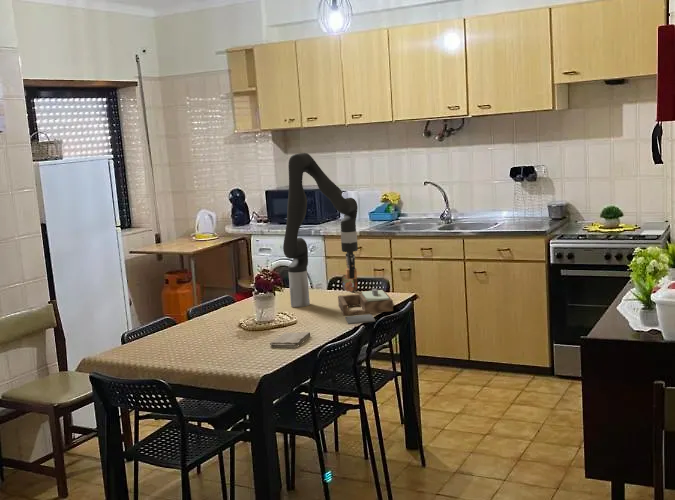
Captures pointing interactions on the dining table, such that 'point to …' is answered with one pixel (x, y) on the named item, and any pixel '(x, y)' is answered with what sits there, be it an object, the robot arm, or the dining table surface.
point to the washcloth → (290, 340)
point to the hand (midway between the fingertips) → (351, 276)
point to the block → (349, 274)
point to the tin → (349, 284)
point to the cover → (375, 295)
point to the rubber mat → (359, 319)
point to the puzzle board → (363, 304)
